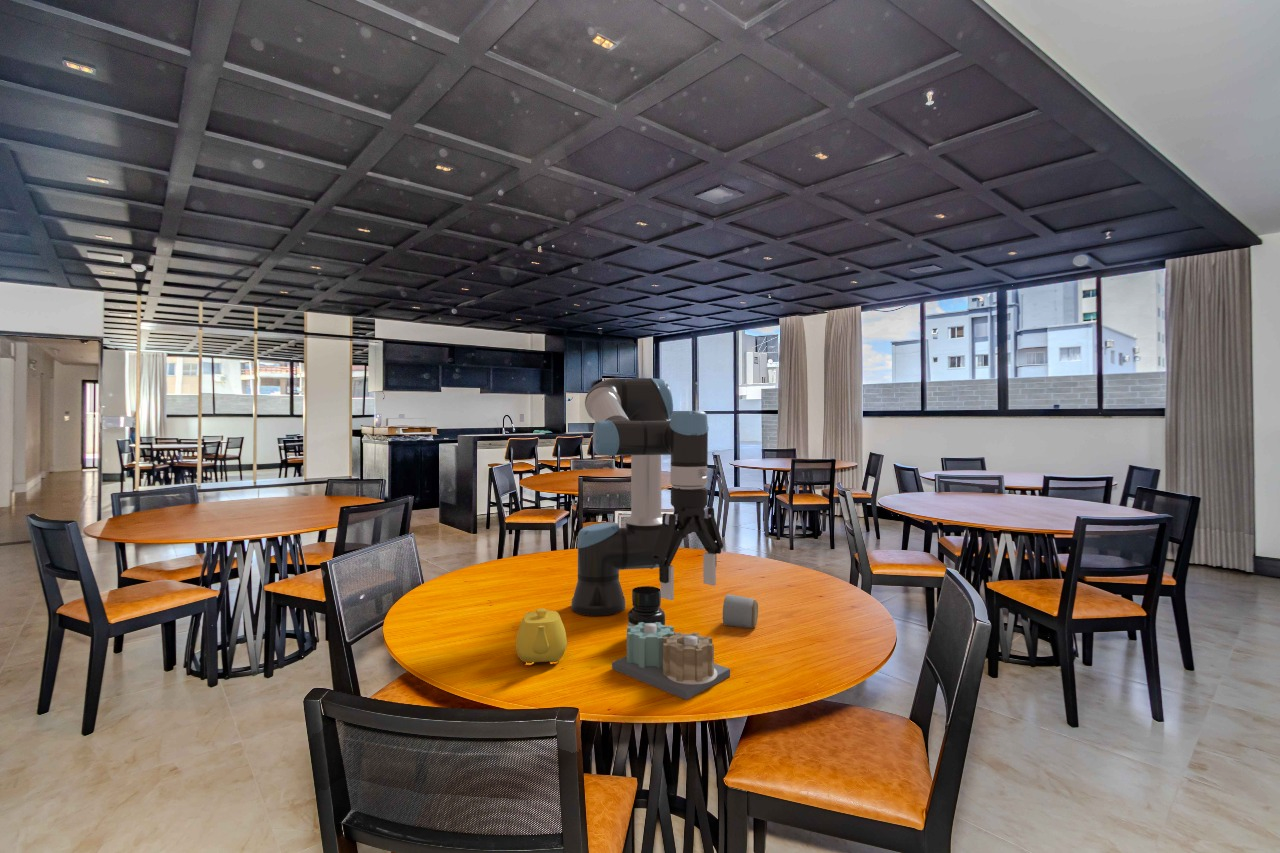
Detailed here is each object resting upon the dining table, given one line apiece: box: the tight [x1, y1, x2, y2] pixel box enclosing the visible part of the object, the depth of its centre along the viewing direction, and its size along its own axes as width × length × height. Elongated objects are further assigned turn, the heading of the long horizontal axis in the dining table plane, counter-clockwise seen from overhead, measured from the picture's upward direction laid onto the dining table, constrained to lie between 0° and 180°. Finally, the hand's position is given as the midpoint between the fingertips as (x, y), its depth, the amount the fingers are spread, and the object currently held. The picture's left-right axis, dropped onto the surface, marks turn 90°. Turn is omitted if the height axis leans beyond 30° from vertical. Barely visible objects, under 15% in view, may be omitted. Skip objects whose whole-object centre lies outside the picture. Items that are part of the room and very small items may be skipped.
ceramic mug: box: [722, 593, 759, 629], centre depth 148 cm, size 11×8×8 cm
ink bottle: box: [627, 585, 666, 627], centre depth 137 cm, size 10×9×12 cm
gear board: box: [611, 622, 731, 701], centre depth 118 cm, size 21×14×8 cm, turn 46°
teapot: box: [515, 607, 568, 663], centre depth 126 cm, size 18×11×11 cm, turn 9°
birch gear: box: [663, 631, 715, 682], centre depth 115 cm, size 10×10×6 cm
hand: (689, 591), depth 117 cm, fingers open, 13 cm apart
